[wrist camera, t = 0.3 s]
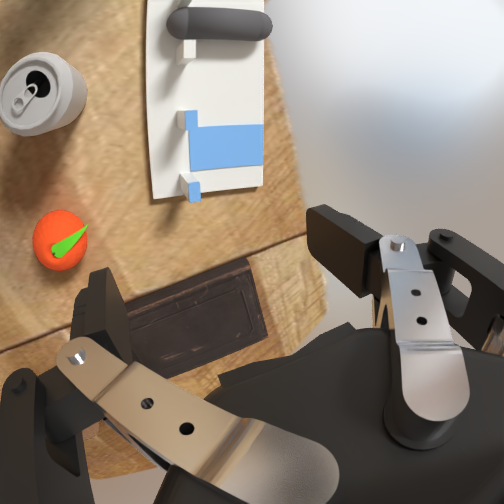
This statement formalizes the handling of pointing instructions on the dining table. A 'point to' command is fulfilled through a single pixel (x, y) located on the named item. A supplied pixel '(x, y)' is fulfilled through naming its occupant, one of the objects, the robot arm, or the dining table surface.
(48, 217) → the clementine
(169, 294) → the hardcover book
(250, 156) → the white peg board
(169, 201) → the dining table surface
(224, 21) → the dark grey rounded cylinder
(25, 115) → the can
